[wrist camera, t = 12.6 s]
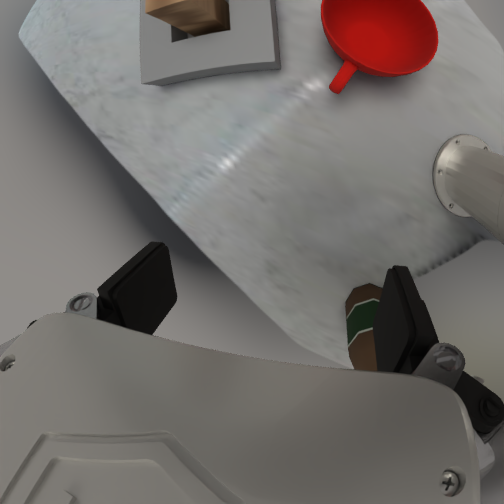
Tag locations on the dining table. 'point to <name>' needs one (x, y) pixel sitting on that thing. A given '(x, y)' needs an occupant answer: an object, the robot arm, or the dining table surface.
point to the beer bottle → (362, 326)
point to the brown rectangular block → (192, 15)
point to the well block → (210, 45)
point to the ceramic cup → (379, 37)
